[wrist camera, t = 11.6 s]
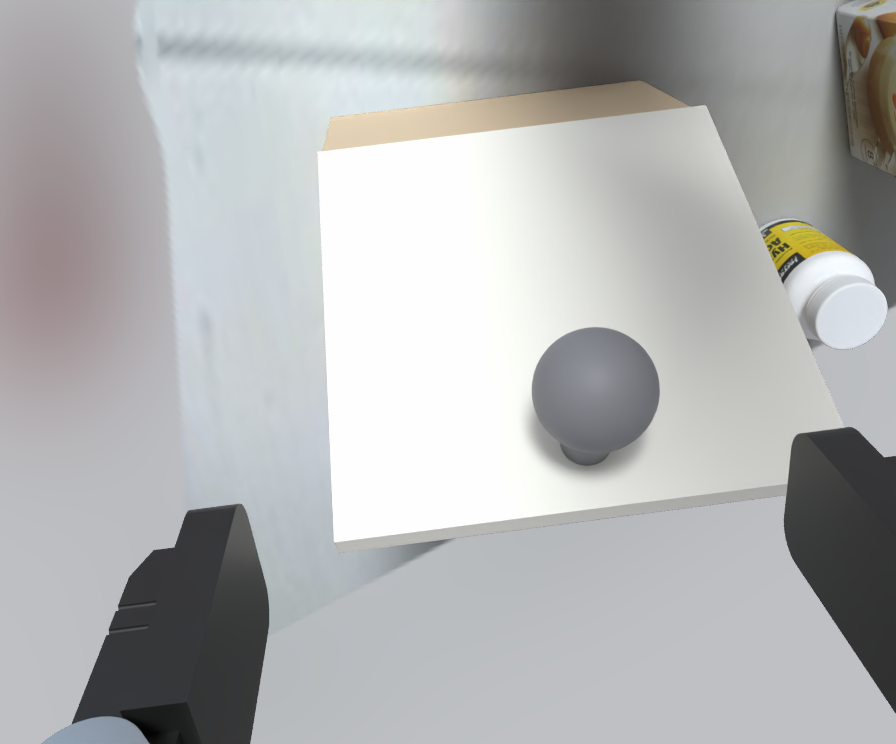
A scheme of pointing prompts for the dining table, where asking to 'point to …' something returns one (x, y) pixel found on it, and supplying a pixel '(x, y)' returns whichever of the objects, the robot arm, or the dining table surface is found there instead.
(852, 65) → the coffee box
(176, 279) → the dining table surface
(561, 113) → the carton
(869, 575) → the robot arm
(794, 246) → the supplement bottle
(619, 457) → the lid
